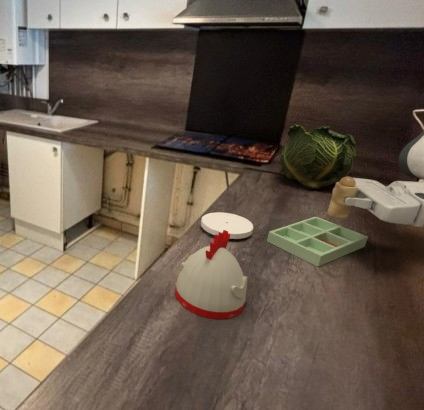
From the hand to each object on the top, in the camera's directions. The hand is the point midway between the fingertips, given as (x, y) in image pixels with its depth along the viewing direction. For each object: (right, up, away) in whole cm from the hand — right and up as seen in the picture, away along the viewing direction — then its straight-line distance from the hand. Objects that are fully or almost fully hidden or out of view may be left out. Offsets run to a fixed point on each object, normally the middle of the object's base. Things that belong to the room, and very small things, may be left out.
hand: (339, 196), depth 87 cm
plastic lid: (-22, -10, +16) cm, 29 cm away
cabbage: (+25, +6, +52) cm, 59 cm away
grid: (0, -13, +9) cm, 15 cm away
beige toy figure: (+1, -5, +2) cm, 5 cm away
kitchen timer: (-36, -22, -12) cm, 44 cm away
